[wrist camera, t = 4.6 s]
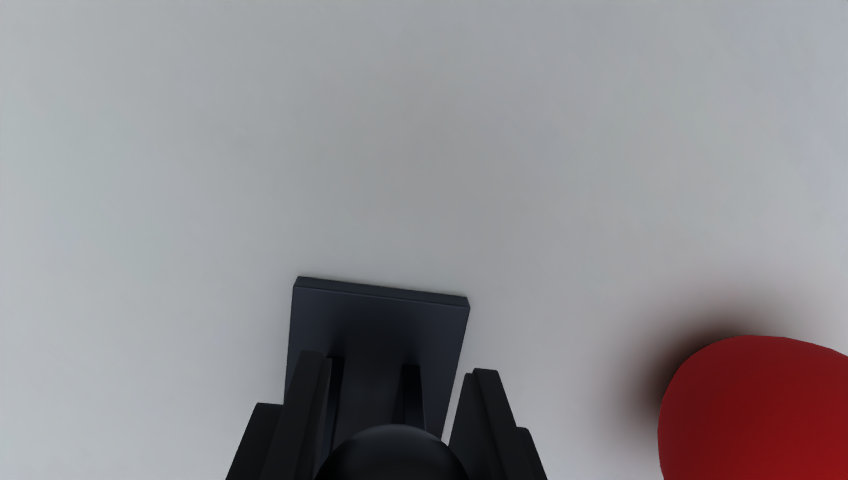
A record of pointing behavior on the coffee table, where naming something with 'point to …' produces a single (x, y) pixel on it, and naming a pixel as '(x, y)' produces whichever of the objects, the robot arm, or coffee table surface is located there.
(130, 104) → the coffee table surface
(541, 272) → the coffee table surface
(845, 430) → the tomato
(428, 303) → the bracket
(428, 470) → the lever
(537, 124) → the coffee table surface
